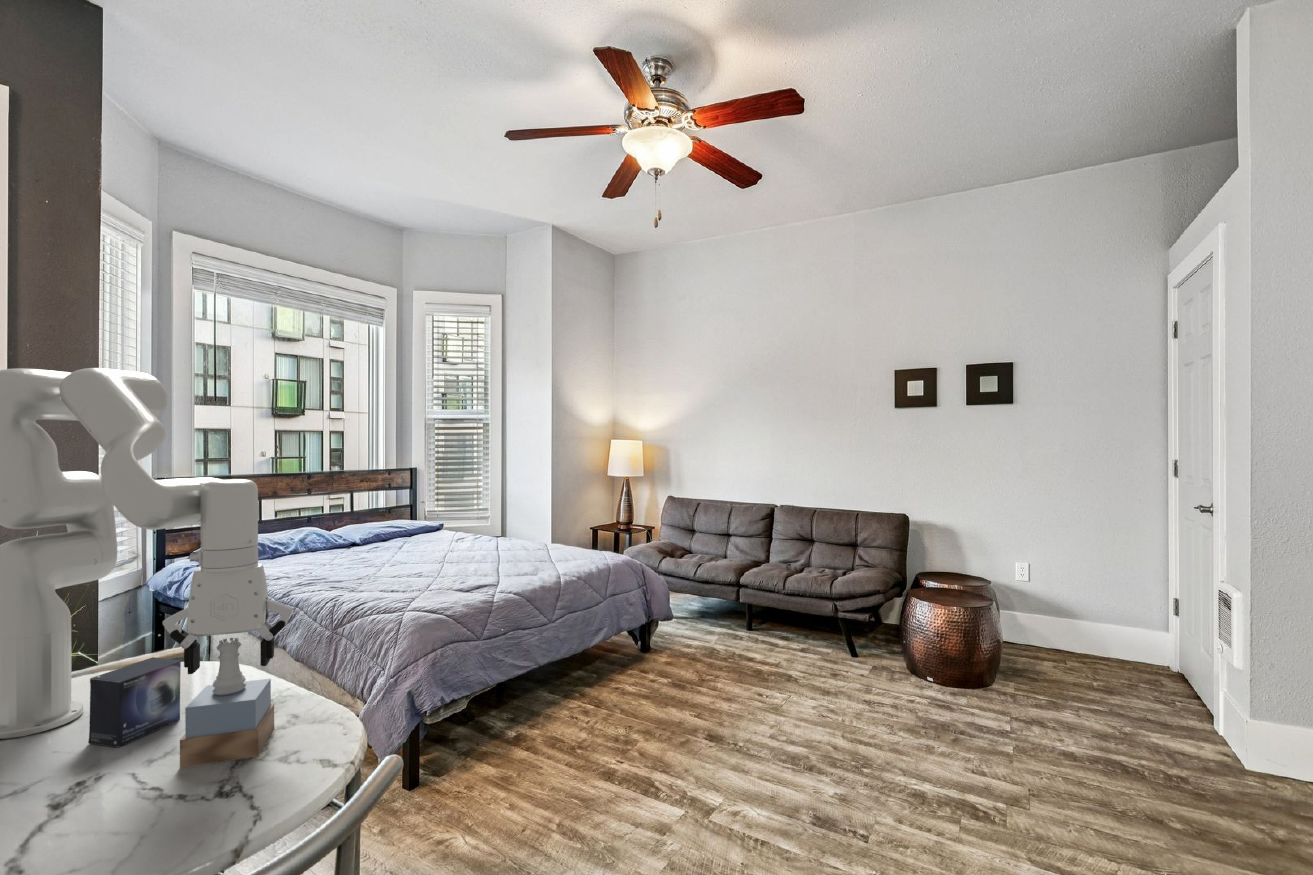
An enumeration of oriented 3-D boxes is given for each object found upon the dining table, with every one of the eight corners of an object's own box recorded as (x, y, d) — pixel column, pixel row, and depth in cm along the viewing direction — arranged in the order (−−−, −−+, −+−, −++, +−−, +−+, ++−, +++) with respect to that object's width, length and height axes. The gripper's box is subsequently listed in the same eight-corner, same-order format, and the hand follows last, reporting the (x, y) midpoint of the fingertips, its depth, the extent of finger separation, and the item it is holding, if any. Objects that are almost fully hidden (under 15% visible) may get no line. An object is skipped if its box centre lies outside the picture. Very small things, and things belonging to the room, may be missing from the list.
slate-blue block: (185, 738, 94) (185, 707, 94) (206, 713, 102) (206, 685, 102) (255, 728, 97) (255, 699, 97) (270, 705, 105) (270, 678, 105)
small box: (119, 748, 99) (119, 681, 99) (86, 745, 100) (86, 678, 100) (183, 719, 109) (182, 658, 109) (151, 716, 111) (151, 656, 111)
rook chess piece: (240, 683, 103) (240, 633, 103) (250, 689, 100) (250, 638, 100) (208, 691, 100) (207, 640, 100) (217, 698, 97) (216, 646, 97)
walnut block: (179, 770, 93) (179, 739, 93) (203, 740, 103) (203, 712, 103) (258, 759, 96) (258, 729, 96) (274, 730, 106) (274, 703, 106)
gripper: (153, 566, 94) (154, 683, 93) (287, 558, 99) (287, 668, 99) (173, 557, 101) (173, 666, 101) (297, 550, 106) (297, 653, 106)
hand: (230, 667), depth 100 cm, fingers open, 9 cm apart
